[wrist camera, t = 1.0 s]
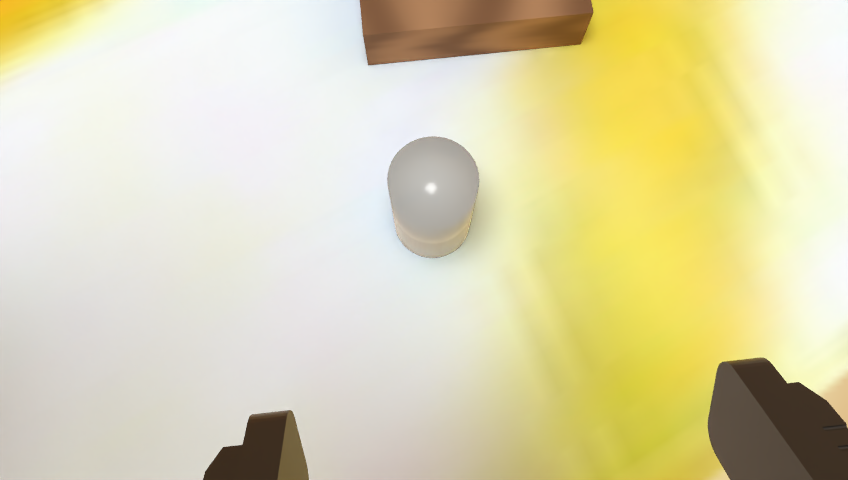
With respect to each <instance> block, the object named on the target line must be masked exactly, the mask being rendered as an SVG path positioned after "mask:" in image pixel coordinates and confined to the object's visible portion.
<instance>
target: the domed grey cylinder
mask: <svg viewBox="0 0 848 480" xmlns="http://www.w3.org/2000/svg"><path fill="white" fill-rule="evenodd" d="M387 180H388V189H389V195H390V200H391V206H392V212H393V217H394V223H395V229H396V232H397V235H398V237H399V239H400V241H401V242H402V244H403V245H404V246H405V247H406V248H407V249H408V250H410V251H411V252H413V253H415V254H417V255H419V256H422V257H428V258H437V257H442V256H446V255H448V254H450V253H452V252H454V251H455V250H456V249H457V248H459V247H460V246H461V244H462V243H463V242H464V240H465V239H466V237H467V234H468V232H469V227H470V223H471V218H472V214H473V209H474V205H475V201H476V196H477V192H478V187H479V173H478V169H477V166H476V163H475V161H474V159H473V158H472V156H471V155H470V153H469V152H468V151H467V150H466V149H465V148H464V147H462V146H461V145H459V144H458V143H456V142H454V141H452V140H449V139H446V138H442V137H424V138H420V139H417V140H414V141H412V142H410V143H409V144H407V145H406V146H404V147H403V148H402V149H401V150H400V151H399V152H398V153H397V154H396V155H395V157H394V158H393V160H392V162H391V165H390V167H389V171H388V178H387Z"/></svg>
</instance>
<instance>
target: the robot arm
mask: <svg viewBox="0 0 848 480" xmlns="http://www.w3.org/2000/svg"><path fill="white" fill-rule="evenodd" d="M708 432H709V437H710V441H711V445H712V447H713V450H714V452H715V454H716V456H717V458H718V459H719V461H720V463H721V465H722V466H723V468H724V470H725V472H726V473H727V475H728V477H729V478H730V480H848V428H847V426H846V423H845V422H844V421H843V419H842V418H841V417H840V416H839V415H838V414H837V412H836V411H835V410H834V409H833V408H832V407H831V405H830V404H829V403H828V402H827V401H826V400H825V399H823V398H822V397H820V396H819V395H817V394H816V393H814V392H813V391H811V390H810V389H808V388H807V387H805V386H804V385H802V384H801V383H799V382H796V383H788V384H787V382H786V381H785V380H784V379H783V377H782V376H781V375H780V374H779V372H778V371H777V370H776V369H775V367H774V366H773V365H772V364H771V363H770V361H768V360H767V359H765V358H753V359H744V360H736V361H727V362H722V363H720V365H719V366H718V369H717V373H716V379H715V384H714V390H713V395H712V401H711V406H710V412H709V417H708ZM203 480H309V477H308V469H307V464H306V460H305V456H304V452H303V448H302V444H301V441H300V437H299V433H298V429H297V425H296V421H295V417H294V414H293V412H292V411H291V410H288V411H279V412H271V413H262V414H253V415H251V416H250V417H249V420H248V423H247V428H246V432H245V437H244V441H243V445H238V446H230V447H223V448H222V449H221V451H220V452H219V453H218V455H217V456H216V458H215V459H214V460H213V462H212V463H211V464H210V466H209V467H208V469H207V470H206V471H205V475H204V478H203Z"/></svg>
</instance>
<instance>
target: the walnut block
mask: <svg viewBox="0 0 848 480" xmlns="http://www.w3.org/2000/svg"><path fill="white" fill-rule="evenodd" d="M360 7H361V17H362V28H363V37H364V43H365V49H366V55H367V60H368V65H374V64H384V63H394V62H404V61H414V60H424V59H434V58H445V57H455V56H465V55H475V54H485V53H495V52H505V51H516V50H526V49H536V48H546V47H556V46H566V45H576V44H581V42H582V39H583V37H584V34H585V32H586V29H587V27H588V25H589V22H590V20H591V17H592V15H593V8H592V3H591V0H360Z"/></svg>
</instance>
